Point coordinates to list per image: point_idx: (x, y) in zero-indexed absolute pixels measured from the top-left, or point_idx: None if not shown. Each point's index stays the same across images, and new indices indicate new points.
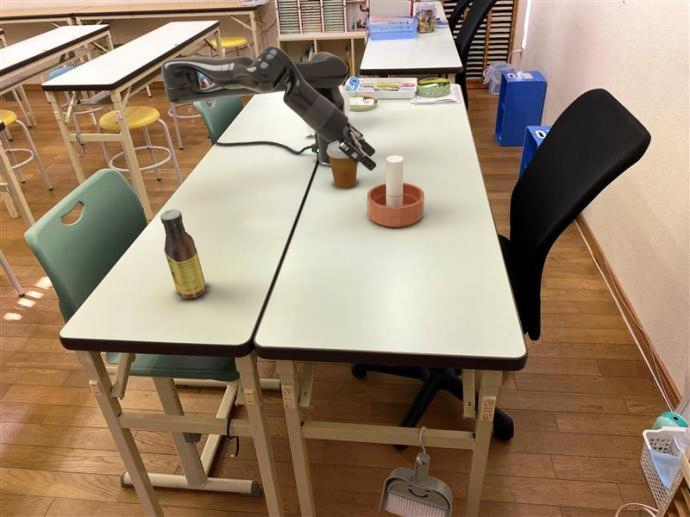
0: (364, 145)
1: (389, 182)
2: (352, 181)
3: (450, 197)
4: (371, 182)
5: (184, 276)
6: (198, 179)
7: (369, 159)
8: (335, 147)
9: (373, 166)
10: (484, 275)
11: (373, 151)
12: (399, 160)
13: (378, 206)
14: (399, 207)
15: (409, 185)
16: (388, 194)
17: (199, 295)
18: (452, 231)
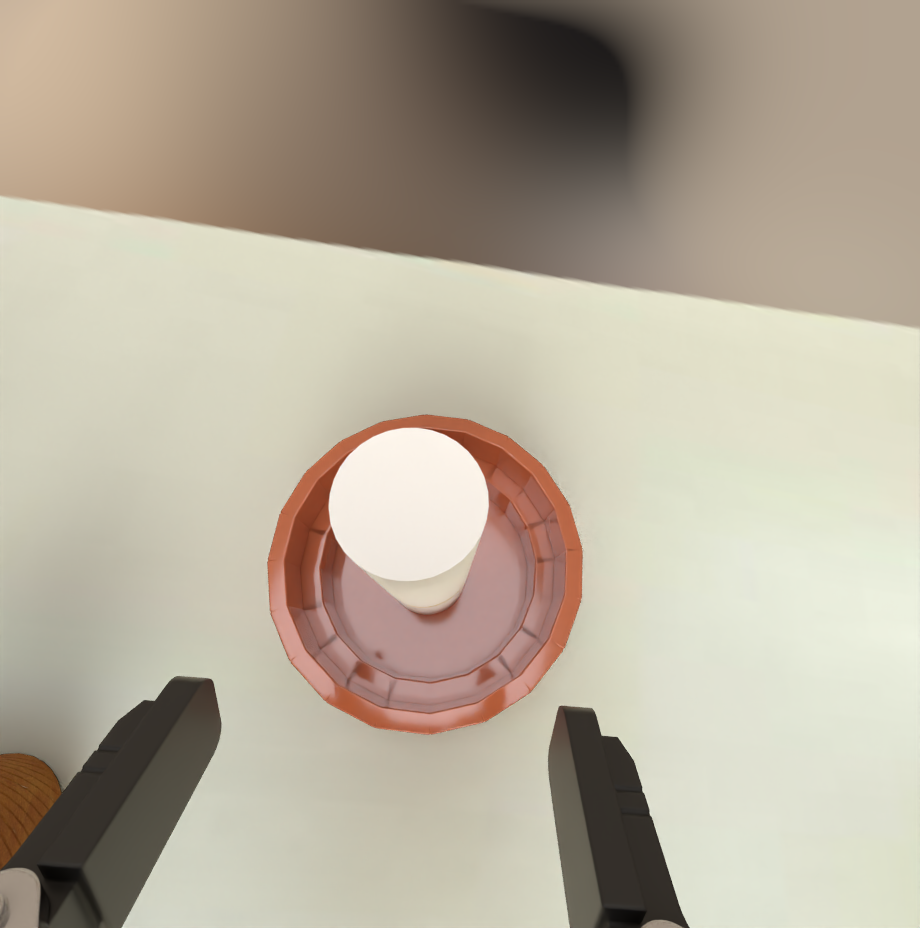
0: (114, 864)
1: (460, 581)
2: (31, 788)
3: (329, 339)
4: (50, 653)
5: None
6: None
7: (619, 822)
8: None
9: (616, 747)
10: (837, 358)
11: (203, 702)
12: (451, 463)
13: (546, 671)
14: (575, 555)
15: (333, 466)
16: (451, 596)
17: None
18: (582, 386)
